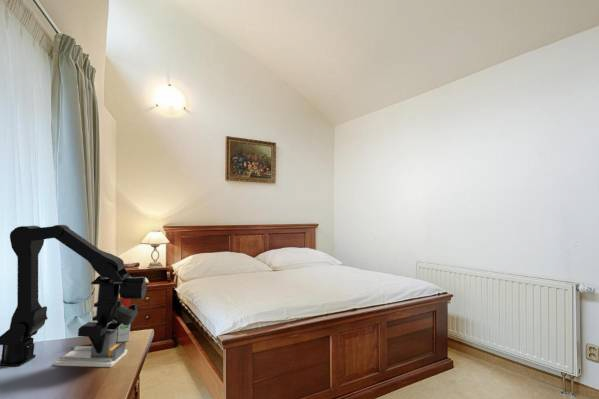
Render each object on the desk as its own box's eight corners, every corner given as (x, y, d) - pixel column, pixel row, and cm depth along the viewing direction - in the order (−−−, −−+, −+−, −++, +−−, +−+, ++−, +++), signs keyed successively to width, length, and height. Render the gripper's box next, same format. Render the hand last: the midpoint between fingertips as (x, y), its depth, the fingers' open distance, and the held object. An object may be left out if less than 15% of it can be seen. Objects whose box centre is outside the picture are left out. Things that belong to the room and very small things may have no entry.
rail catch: (107, 358, 97) (108, 350, 97) (115, 352, 101) (115, 344, 101) (111, 358, 97) (112, 350, 97) (119, 352, 101) (119, 344, 101)
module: (90, 357, 96) (92, 334, 97) (98, 351, 101) (101, 328, 101) (107, 358, 97) (109, 334, 97) (115, 352, 101) (117, 329, 102)
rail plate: (54, 365, 93) (55, 351, 93) (76, 351, 103) (77, 338, 103) (111, 367, 94) (112, 353, 94) (127, 352, 104) (128, 340, 104)
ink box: (129, 341, 113) (132, 299, 114) (102, 345, 109) (106, 301, 110) (128, 337, 116) (131, 296, 117) (102, 341, 112) (106, 298, 113)
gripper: (120, 308, 91) (115, 364, 90) (147, 292, 110) (143, 339, 109) (79, 306, 90) (73, 363, 89) (113, 291, 109) (109, 338, 108)
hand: (103, 349), depth 99 cm, fingers closed on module, 4 cm apart
